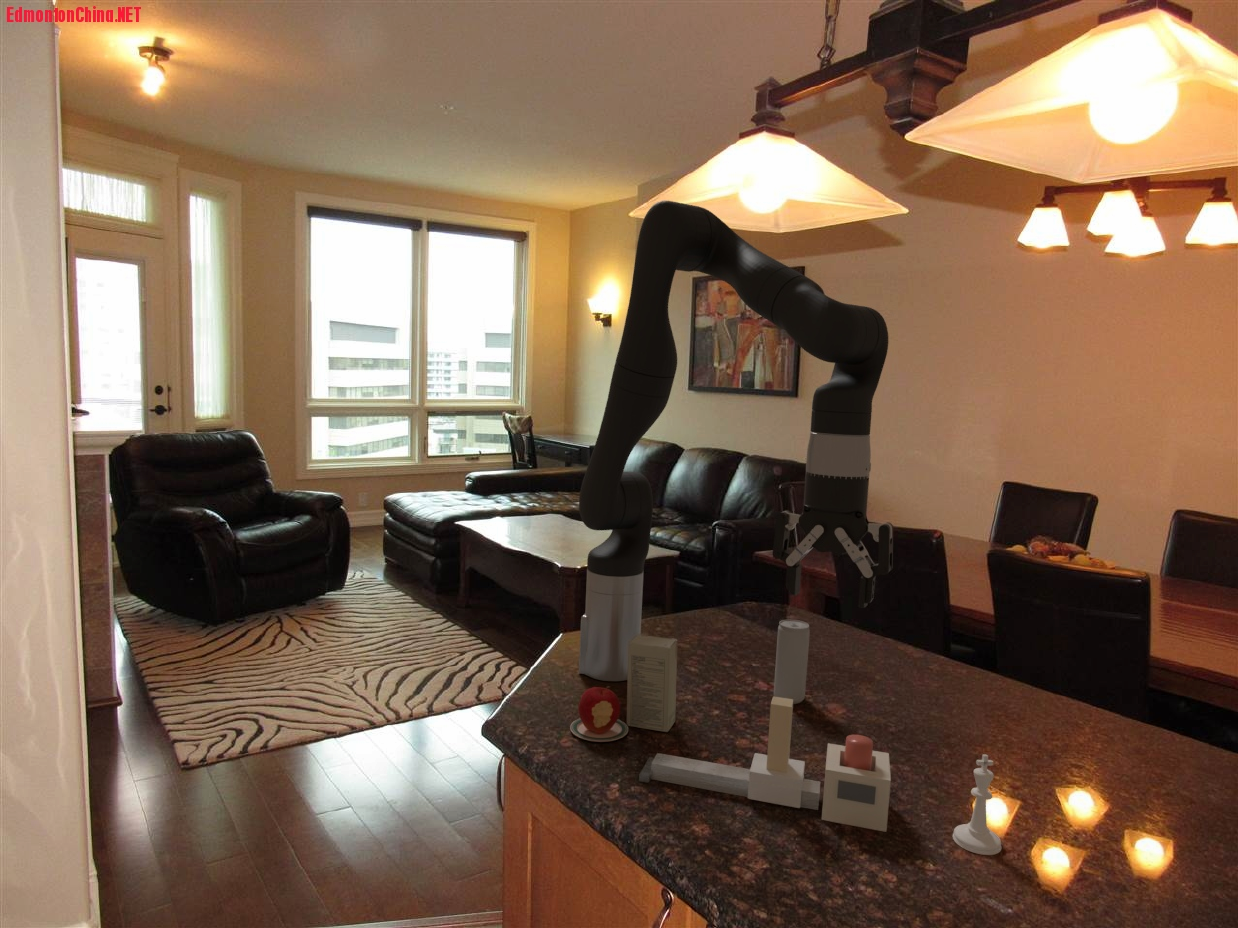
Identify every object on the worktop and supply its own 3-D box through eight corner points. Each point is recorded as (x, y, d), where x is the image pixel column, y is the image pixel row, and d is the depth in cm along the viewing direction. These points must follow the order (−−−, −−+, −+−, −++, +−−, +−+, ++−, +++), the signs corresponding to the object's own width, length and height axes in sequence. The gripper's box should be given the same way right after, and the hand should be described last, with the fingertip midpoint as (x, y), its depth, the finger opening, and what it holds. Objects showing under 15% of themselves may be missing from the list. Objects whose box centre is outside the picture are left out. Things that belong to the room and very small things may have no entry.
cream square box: (821, 820, 93) (825, 770, 92) (824, 790, 100) (827, 743, 99) (886, 832, 91) (890, 781, 90) (884, 801, 98) (888, 753, 97)
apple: (639, 732, 114) (642, 687, 113) (599, 750, 108) (601, 702, 107) (598, 714, 119) (600, 671, 118) (558, 730, 113) (559, 684, 113)
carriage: (747, 798, 96) (753, 705, 95) (753, 777, 101) (759, 689, 100) (799, 808, 95) (806, 714, 93) (802, 786, 100) (809, 697, 98)
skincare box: (675, 721, 118) (680, 638, 116) (667, 733, 114) (672, 648, 112) (633, 713, 120) (637, 632, 118) (623, 725, 116) (627, 641, 114)
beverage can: (802, 694, 130) (808, 620, 129) (806, 706, 125) (812, 629, 124) (771, 691, 131) (777, 618, 129) (774, 703, 126) (779, 627, 124)
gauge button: (842, 785, 94) (845, 743, 94) (843, 773, 97) (846, 732, 97) (869, 789, 93) (873, 748, 93) (869, 777, 96) (872, 737, 96)
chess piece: (944, 829, 92) (952, 744, 91) (986, 829, 93) (994, 744, 92) (966, 855, 87) (975, 766, 86) (1010, 855, 88) (1020, 766, 87)
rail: (638, 780, 100) (639, 765, 100) (649, 762, 105) (649, 747, 105) (817, 814, 94) (818, 797, 94) (819, 793, 99) (820, 777, 99)
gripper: (771, 467, 100) (763, 597, 102) (891, 478, 94) (881, 617, 95) (789, 463, 107) (782, 585, 109) (903, 473, 100) (893, 603, 102)
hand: (828, 600), depth 102 cm, fingers open, 8 cm apart
